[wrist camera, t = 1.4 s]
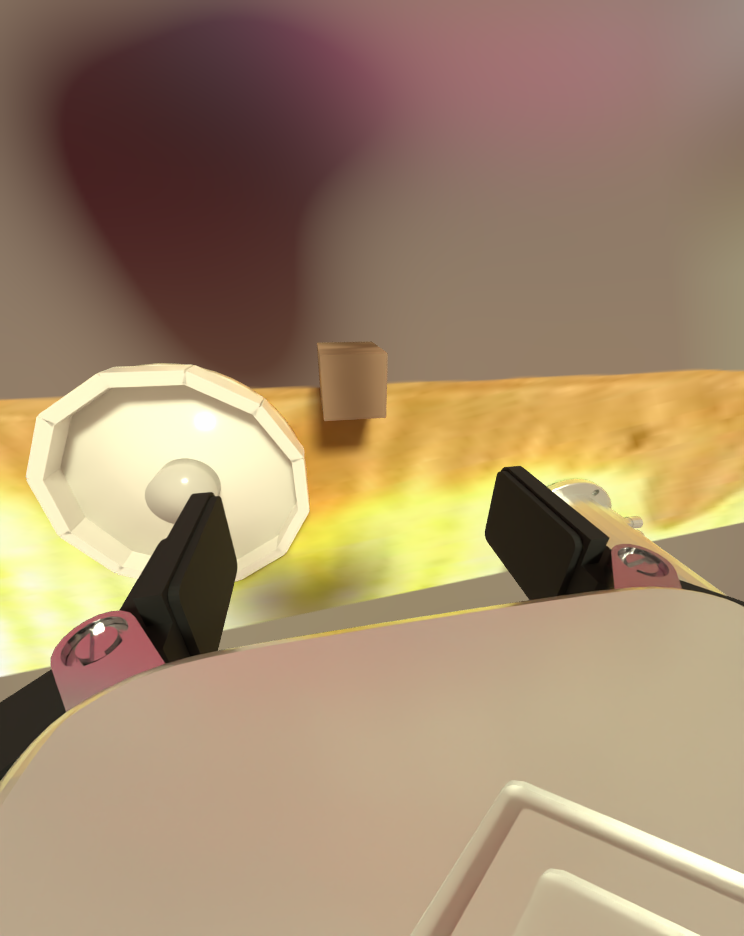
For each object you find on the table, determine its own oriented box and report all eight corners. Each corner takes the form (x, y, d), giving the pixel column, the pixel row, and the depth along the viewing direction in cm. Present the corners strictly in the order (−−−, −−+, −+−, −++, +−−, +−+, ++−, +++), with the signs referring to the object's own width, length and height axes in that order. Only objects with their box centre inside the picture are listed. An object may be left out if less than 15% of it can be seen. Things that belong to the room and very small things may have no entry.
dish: (295, 359, 26) (293, 368, 23) (315, 550, 36) (315, 574, 33) (6, 367, 23) (-40, 378, 20) (111, 574, 33) (90, 603, 30)
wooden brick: (371, 341, 27) (387, 353, 21) (371, 394, 29) (386, 417, 24) (316, 342, 26) (319, 355, 21) (320, 397, 28) (324, 421, 23)
